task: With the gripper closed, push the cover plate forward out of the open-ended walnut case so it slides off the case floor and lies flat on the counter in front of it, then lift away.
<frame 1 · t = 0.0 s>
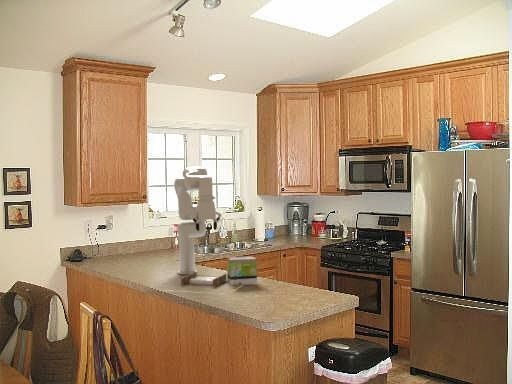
hand: (206, 230, 299), 31 cm above the worktop, tool pointing down, fingers open, 9 cm apart
cover plate: (204, 282, 306), point 1 cm above the worktop, touching walnut case
tea box: (242, 284, 305), on the worktop
walnut case: (204, 284, 305), on the worktop
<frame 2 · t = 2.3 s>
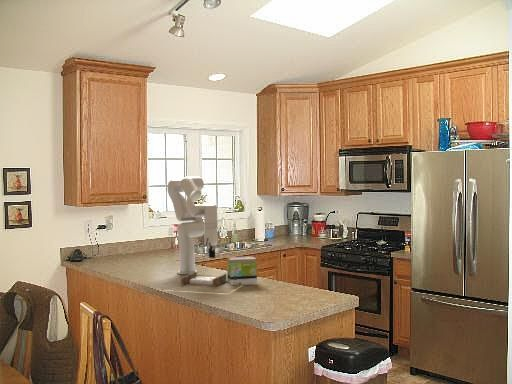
hand: (212, 257, 315), 14 cm above the worktop, tool pointing down, fingers closed
nothing on the worktop moved.
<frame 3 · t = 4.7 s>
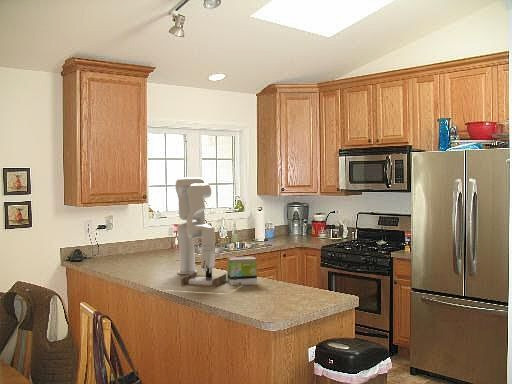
hand: (208, 279, 311), 1 cm above the worktop, tool pointing down, fingers closed
cover plate: (203, 283, 305), point 1 cm above the worktop, touching gripper, walnut case
everything else where it was.
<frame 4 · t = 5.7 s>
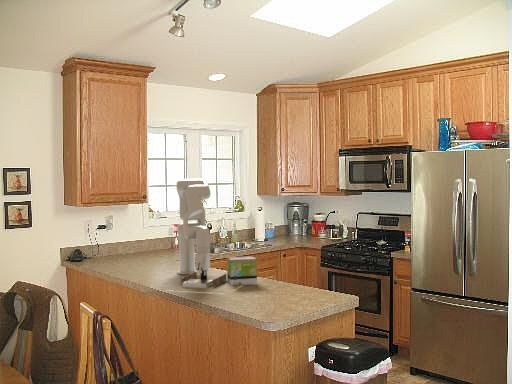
hand: (203, 282, 304), 1 cm above the worktop, tool pointing down, fingers closed
cover plate: (198, 285, 298), point 1 cm above the worktop, touching gripper, walnut case
everything else where it was.
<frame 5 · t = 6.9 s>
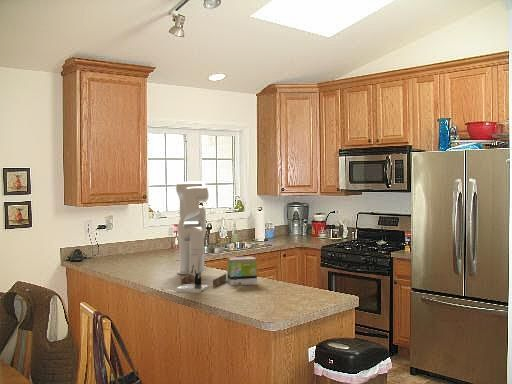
hand: (198, 285, 297), 1 cm above the worktop, tool pointing down, fingers closed
cover plate: (192, 291, 291), on the worktop, touching gripper
everything else where it was.
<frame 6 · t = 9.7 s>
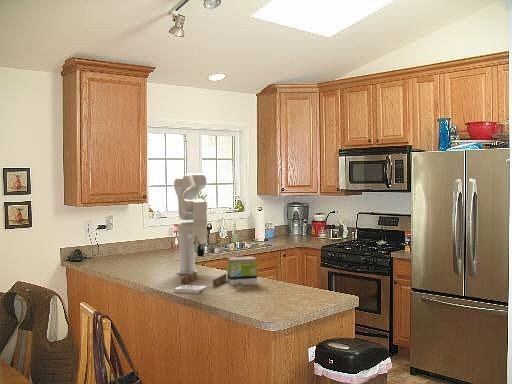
hand: (200, 256, 301), 17 cm above the worktop, tool pointing down, fingers closed
cover plate: (191, 292, 289), on the worktop
everything else where it was.
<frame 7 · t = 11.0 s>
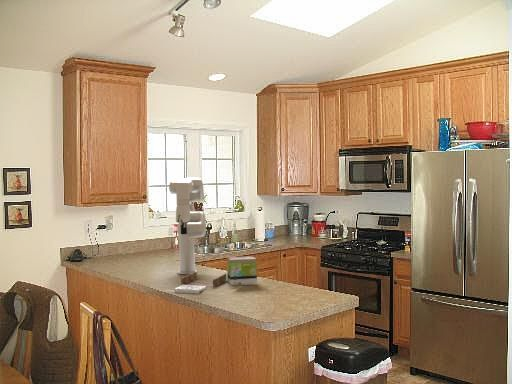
hand: (183, 234, 319), 27 cm above the worktop, tool pointing down, fingers closed
nothing on the worktop moved.
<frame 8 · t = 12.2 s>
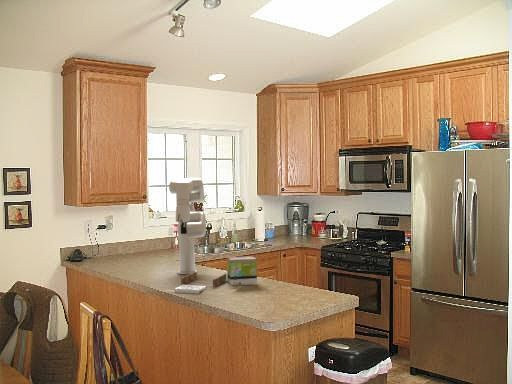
hand: (183, 233, 319), 27 cm above the worktop, tool pointing down, fingers closed
nothing on the worktop moved.
at the end: cover plate inside the target area (1.6 cm from its centre), on the worktop; cover plate tilted 0°; cover plate touching worktop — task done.
